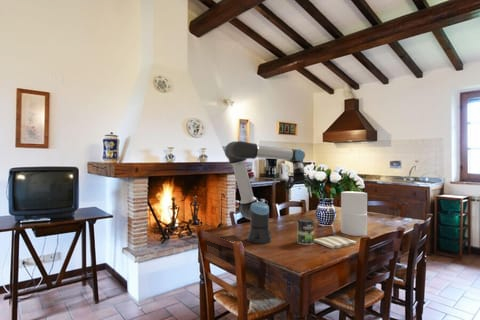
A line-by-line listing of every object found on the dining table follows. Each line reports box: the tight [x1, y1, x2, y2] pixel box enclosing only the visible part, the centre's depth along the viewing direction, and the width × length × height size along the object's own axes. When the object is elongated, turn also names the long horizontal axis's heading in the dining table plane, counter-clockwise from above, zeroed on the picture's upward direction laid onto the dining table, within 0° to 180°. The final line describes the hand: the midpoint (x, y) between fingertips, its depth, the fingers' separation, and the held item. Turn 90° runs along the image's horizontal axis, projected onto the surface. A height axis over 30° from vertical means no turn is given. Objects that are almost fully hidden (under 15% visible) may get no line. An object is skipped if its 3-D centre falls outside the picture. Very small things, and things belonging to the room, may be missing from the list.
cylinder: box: [340, 190, 368, 237], centre depth 207 cm, size 17×17×28 cm
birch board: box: [313, 235, 357, 250], centre depth 182 cm, size 20×16×2 cm
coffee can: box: [296, 217, 315, 246], centre depth 182 cm, size 10×10×14 cm
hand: (300, 197), depth 194 cm, fingers open, 13 cm apart
